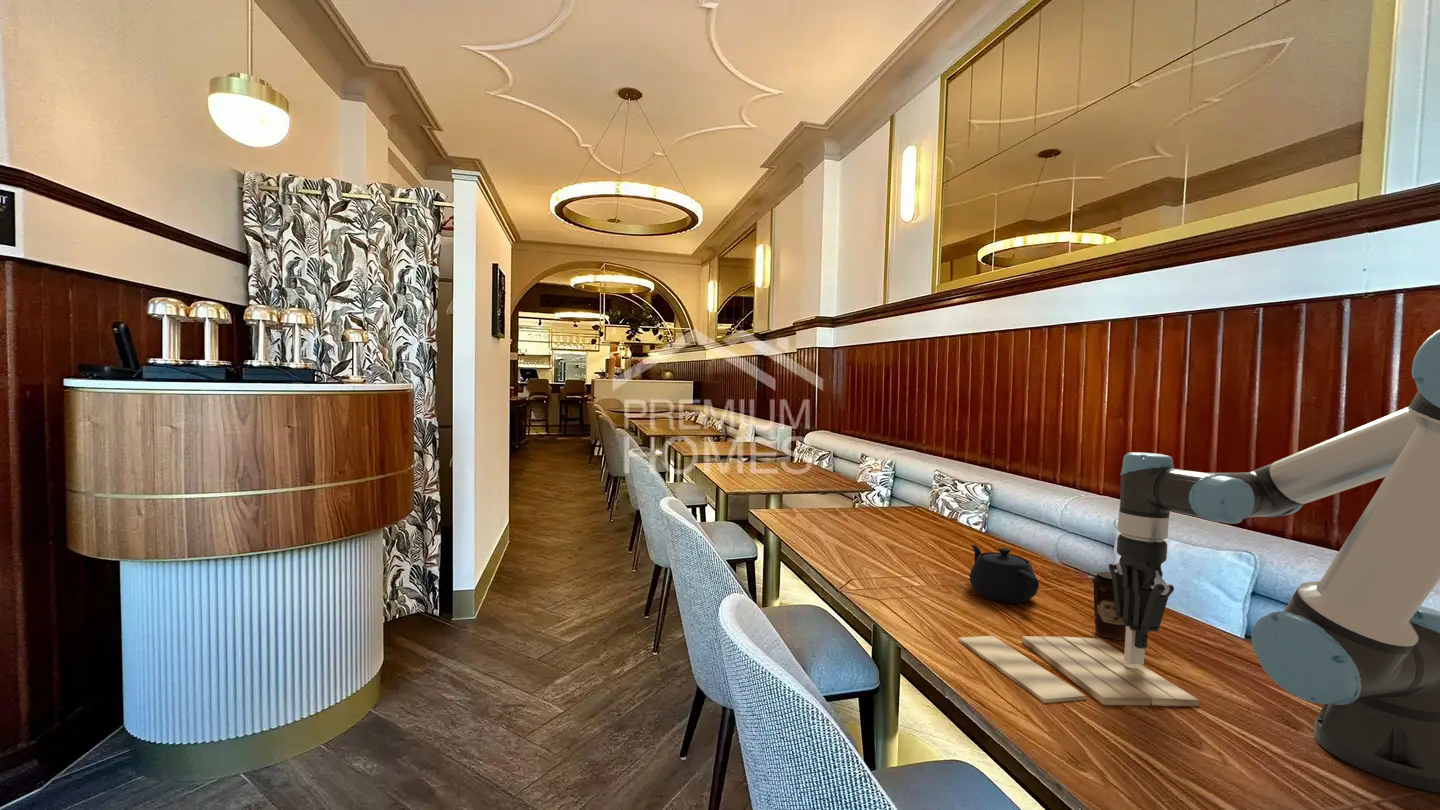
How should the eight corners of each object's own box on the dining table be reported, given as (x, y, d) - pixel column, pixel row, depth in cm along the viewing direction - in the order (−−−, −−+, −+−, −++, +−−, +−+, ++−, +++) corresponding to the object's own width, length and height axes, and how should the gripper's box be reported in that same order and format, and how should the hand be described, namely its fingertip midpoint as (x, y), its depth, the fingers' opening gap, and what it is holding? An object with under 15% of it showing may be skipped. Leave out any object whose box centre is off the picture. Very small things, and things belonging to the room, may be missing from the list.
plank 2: (1198, 707, 98) (1198, 699, 98) (1152, 705, 97) (1152, 697, 97) (1098, 644, 122) (1099, 637, 122) (1061, 642, 121) (1062, 636, 121)
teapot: (1064, 612, 139) (1066, 561, 138) (1006, 615, 136) (1008, 563, 135) (995, 578, 163) (997, 534, 163) (944, 579, 160) (946, 535, 160)
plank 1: (1085, 702, 99) (1086, 695, 99) (1044, 706, 97) (1044, 699, 97) (992, 641, 122) (992, 635, 122) (958, 643, 121) (958, 637, 120)
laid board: (1149, 705, 97) (1150, 697, 97) (1103, 704, 97) (1103, 697, 97) (1059, 642, 121) (1059, 636, 121) (1022, 641, 121) (1022, 635, 121)
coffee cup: (1144, 646, 121) (1148, 584, 120) (1100, 641, 123) (1103, 580, 122) (1124, 629, 129) (1127, 571, 129) (1083, 625, 131) (1086, 567, 131)
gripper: (1191, 547, 101) (1182, 680, 102) (1134, 528, 114) (1127, 646, 115) (1150, 546, 101) (1141, 679, 102) (1097, 527, 114) (1090, 646, 115)
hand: (1133, 662), depth 109 cm, fingers closed
